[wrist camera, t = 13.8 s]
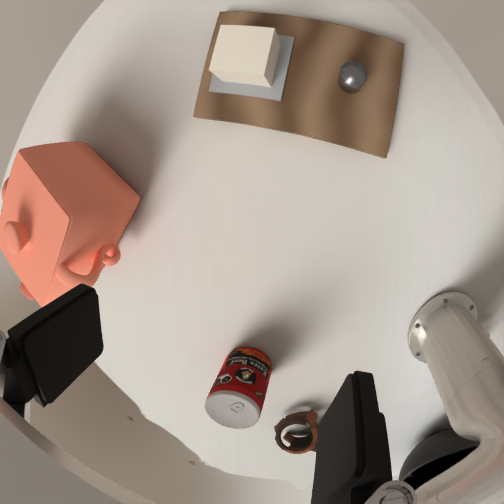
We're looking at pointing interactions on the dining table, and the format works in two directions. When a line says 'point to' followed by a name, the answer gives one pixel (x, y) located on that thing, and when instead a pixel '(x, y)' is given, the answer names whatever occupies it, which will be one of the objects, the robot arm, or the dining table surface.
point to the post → (352, 77)
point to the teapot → (62, 218)
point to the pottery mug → (297, 443)
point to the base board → (317, 84)
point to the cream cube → (245, 54)
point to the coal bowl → (435, 457)
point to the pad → (256, 90)
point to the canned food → (240, 389)
